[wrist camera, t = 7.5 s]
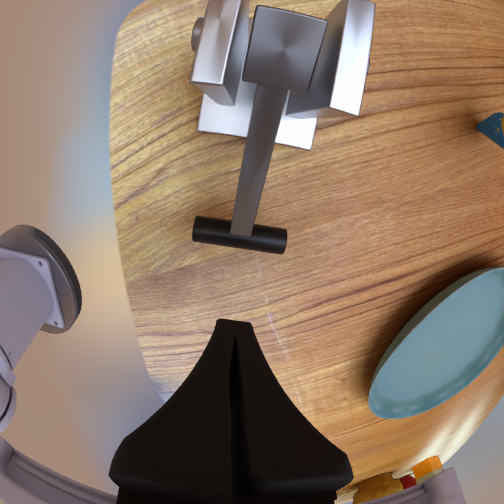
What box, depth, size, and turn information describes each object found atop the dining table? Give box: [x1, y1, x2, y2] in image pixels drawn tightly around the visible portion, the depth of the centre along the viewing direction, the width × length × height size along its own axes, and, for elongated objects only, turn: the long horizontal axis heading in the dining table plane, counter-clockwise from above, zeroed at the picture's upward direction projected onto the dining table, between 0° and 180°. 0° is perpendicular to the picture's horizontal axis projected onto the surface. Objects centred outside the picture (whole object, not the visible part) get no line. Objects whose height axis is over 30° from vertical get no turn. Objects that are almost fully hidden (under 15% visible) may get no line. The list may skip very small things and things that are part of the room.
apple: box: [399, 475, 417, 490], centre depth 61 cm, size 11×11×12 cm
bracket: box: [190, 0, 376, 151], centre depth 10 cm, size 8×7×10 cm
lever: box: [192, 5, 328, 254], centre depth 11 cm, size 12×5×2 cm, turn 170°
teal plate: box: [368, 267, 504, 419], centre depth 24 cm, size 24×24×3 cm
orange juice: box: [412, 456, 444, 485], centre depth 50 cm, size 8×9×20 cm
